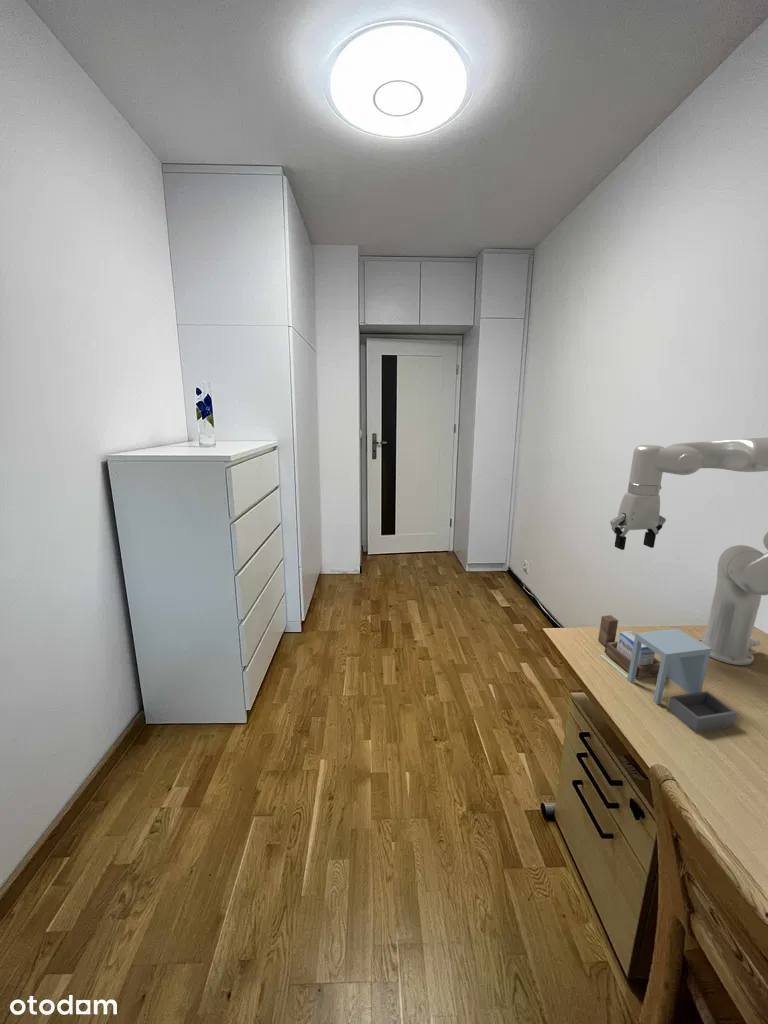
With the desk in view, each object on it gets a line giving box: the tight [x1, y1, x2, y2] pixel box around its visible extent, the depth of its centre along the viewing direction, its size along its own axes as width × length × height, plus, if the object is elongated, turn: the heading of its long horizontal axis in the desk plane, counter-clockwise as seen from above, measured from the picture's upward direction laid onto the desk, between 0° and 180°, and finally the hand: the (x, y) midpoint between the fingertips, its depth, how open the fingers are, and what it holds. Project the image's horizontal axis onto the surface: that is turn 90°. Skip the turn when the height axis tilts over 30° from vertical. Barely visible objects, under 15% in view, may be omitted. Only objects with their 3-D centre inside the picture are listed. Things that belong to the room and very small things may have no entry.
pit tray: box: [667, 690, 738, 734], centre depth 91 cm, size 10×7×4 cm
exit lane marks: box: [599, 654, 628, 679], centre depth 110 cm, size 12×10×1 cm
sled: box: [597, 614, 661, 679], centre depth 112 cm, size 8×17×8 cm, turn 11°
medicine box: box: [617, 630, 656, 666], centre depth 108 cm, size 8×4×9 cm, turn 11°
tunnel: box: [627, 628, 711, 705], centre depth 99 cm, size 12×9×13 cm
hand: (633, 547), depth 118 cm, fingers open, 9 cm apart
